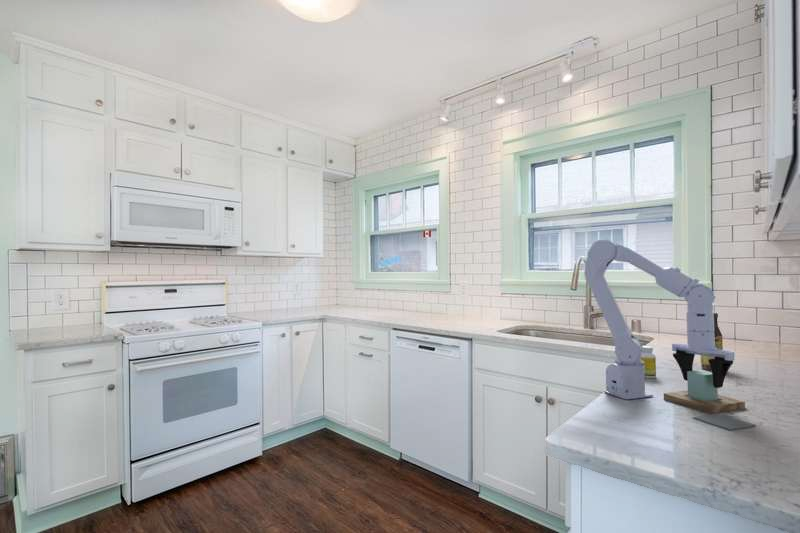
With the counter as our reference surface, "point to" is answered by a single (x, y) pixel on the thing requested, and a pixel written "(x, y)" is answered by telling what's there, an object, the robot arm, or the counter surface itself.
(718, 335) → the sauce bottle
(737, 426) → the rubber mat
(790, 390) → the counter surface
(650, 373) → the supplement bottle
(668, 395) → the block
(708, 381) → the peg
